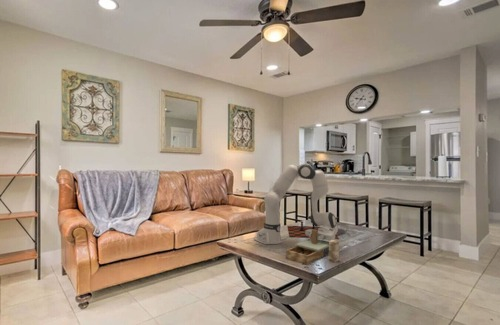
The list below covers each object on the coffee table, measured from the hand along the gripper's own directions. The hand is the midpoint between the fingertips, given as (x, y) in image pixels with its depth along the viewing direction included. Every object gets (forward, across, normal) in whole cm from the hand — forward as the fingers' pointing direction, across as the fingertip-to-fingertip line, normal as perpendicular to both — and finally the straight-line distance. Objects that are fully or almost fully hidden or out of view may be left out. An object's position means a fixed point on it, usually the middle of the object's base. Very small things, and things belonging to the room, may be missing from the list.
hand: (314, 236), depth 183 cm
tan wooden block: (+4, +16, +11) cm, 20 cm away
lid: (-1, 0, +6) cm, 6 cm away
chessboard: (-48, -30, +12) cm, 58 cm away
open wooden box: (+12, 0, +11) cm, 16 cm away
